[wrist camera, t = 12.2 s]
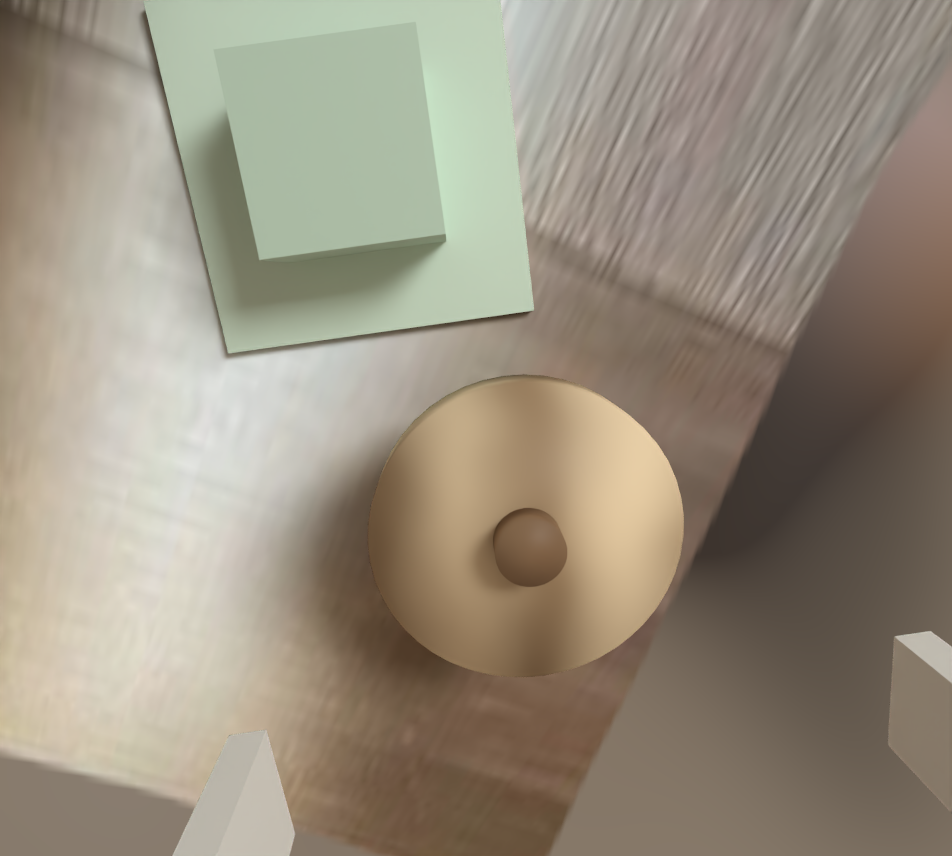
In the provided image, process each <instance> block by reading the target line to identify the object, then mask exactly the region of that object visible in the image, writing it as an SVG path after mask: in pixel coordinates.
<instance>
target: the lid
mask: <svg viewBox="0 0 952 856" xmlns="http://www.w3.org/2000/svg"><path fill="white" fill-rule="evenodd" d="M683 527H684V516H683V508H682V500H681V495H680V492H679V488H678V484H677V481H676V478H675V476H674V473H673V471H672V469H671V466H670V464H669V462H668V460H667V459H666V457H665V455H664V454H663V452H662V450H661V449H660V447H659V446H658V444H657V443H656V442H655V441H654V440H653V438H652V437H651V436H650V435H649V434H648V432H647V431H646V430H645V429H644V428H643V427H642V426H641V425H640V424H638V423H637V422H636V421H635V420H634V419H633V418H632V417H631V416H629V415H628V414H627V413H625V412H624V411H623V410H621V409H620V408H619V407H617V406H616V405H615V404H613V403H612V402H610V401H609V400H607V399H606V398H604V397H603V396H601V395H600V394H598V393H596V392H594V391H592V390H590V389H588V388H586V387H584V386H582V385H579V384H576V383H572V382H569V381H566V380H563V379H558V378H553V377H548V376H541V375H511V376H501V377H496V378H492V379H487V380H482V381H480V382H477V383H474V384H471V385H468V386H465V387H463V388H461V389H459V390H457V391H455V392H453V393H451V394H449V395H447V396H445V397H444V398H442V399H441V400H439V401H438V402H436V403H435V404H433V405H432V406H430V407H429V408H428V409H427V410H426V411H424V412H423V413H422V414H421V415H420V416H419V417H418V418H417V419H415V420H414V422H413V423H412V424H411V425H410V426H409V427H408V429H407V430H406V431H405V432H404V433H403V434H402V436H401V437H400V439H399V440H398V442H397V443H396V445H395V446H394V448H393V449H392V451H391V453H390V455H389V457H388V459H387V462H386V464H385V466H384V468H383V471H382V473H381V476H380V479H379V482H378V484H377V487H376V491H375V494H374V497H373V500H372V503H371V509H370V515H369V521H368V550H369V558H370V564H371V568H372V571H373V575H374V579H375V582H376V584H377V586H378V589H379V591H380V593H381V596H382V598H383V600H384V601H385V603H386V605H387V606H388V608H389V610H390V611H391V613H392V615H393V616H394V617H395V618H396V619H397V621H398V622H399V623H400V624H401V626H402V627H403V628H404V629H405V630H406V631H407V632H408V633H409V634H410V635H411V636H412V637H413V638H414V639H415V640H416V641H418V642H419V643H420V644H422V645H423V646H424V647H426V648H427V649H428V650H430V651H431V652H433V653H434V654H436V655H438V656H440V657H442V658H443V659H445V660H447V661H449V662H451V663H453V664H456V665H458V666H461V667H464V668H466V669H469V670H473V671H477V672H480V673H484V674H489V675H496V676H503V677H533V676H544V675H549V674H554V673H559V672H564V671H567V670H570V669H573V668H576V667H579V666H582V665H584V664H586V663H589V662H591V661H593V660H595V659H597V658H599V657H601V656H603V655H604V654H606V653H608V652H609V651H611V650H613V649H614V648H616V647H617V646H619V645H620V644H621V643H623V642H624V641H625V640H626V639H628V638H629V637H630V636H632V635H633V634H634V633H635V632H636V631H637V630H638V629H639V628H640V627H641V626H642V625H643V624H644V623H645V622H646V620H647V619H648V618H649V617H650V615H651V614H652V613H653V612H654V610H655V609H656V608H657V607H658V605H659V603H660V602H661V600H662V598H663V597H664V595H665V593H666V592H667V590H668V588H669V585H670V583H671V581H672V579H673V577H674V574H675V571H676V568H677V565H678V561H679V558H680V554H681V548H682V542H683Z"/></svg>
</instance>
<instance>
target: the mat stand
mask: <svg viewBox="0 0 952 856" xmlns="http://www.w3.org/2000/svg"><path fill="white" fill-rule="evenodd" d="M143 2H144V6H145V10H146V14H147V18H148V23H149V27H150V31H151V35H152V39H153V43H154V47H155V52H156V56H157V60H158V64H159V68H160V72H161V77H162V81H163V85H164V89H165V93H166V97H167V101H168V106H169V110H170V114H171V118H172V122H173V126H174V131H175V135H176V139H177V143H178V147H179V151H180V155H181V160H182V164H183V168H184V172H185V176H186V180H187V184H188V189H189V193H190V197H191V201H192V205H193V209H194V214H195V218H196V222H197V226H198V230H199V234H200V238H201V243H202V247H203V251H204V255H205V259H206V263H207V267H208V272H209V276H210V280H211V284H212V288H213V292H214V297H215V301H216V305H217V309H218V313H219V317H220V321H221V326H222V330H223V334H224V338H225V342H226V346H227V351H228V353H235V352H242V351H250V350H257V349H264V348H271V347H278V346H285V345H292V344H299V343H306V342H314V341H321V340H328V339H335V338H342V337H349V336H356V335H363V334H370V333H378V332H385V331H392V330H399V329H406V328H413V327H420V326H427V325H434V324H442V323H449V322H456V321H463V320H470V319H477V318H484V317H491V316H498V315H506V314H513V313H520V312H527V311H534V305H533V296H532V287H531V278H530V269H529V260H528V250H527V241H526V232H525V223H524V214H523V204H522V195H521V186H520V177H519V168H518V159H517V149H516V140H515V131H514V122H513V113H512V104H511V94H510V85H509V76H508V67H507V58H506V49H505V39H504V30H503V21H502V12H501V3H500V0H148V1H143Z"/></svg>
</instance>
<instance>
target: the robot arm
mask: <svg viewBox="0 0 952 856" xmlns="http://www.w3.org/2000/svg"><path fill="white" fill-rule="evenodd" d="M888 746H890V748H891V749H892V750H893V751H894V752H895V753H896V754H897V755H898V756H899V757H900V758H901V759H902V761H903V762H904V763H905V764H906V765H907V766H908V767H909V768H910V769H911V770H912V771H913V772H914V773H915V774H916V775H917V777H918V778H919V779H921V781H922V782H923V783H924V784H925V785H926V786H927V787H928V788H929V789H930V790H931V791H932V793H933V794H934V795H935V796H936V797H937V798H938V799H939V800H940V801H941V802H942V803H943V804H944V805H945V806H946V808H947V809H948V810H949V811H950V812H951V813H952V647H951V646H950V645H948V644H947V643H946V642H944V641H943V640H942V639H940V638H939V637H938V636H936V635H935V634H933V633H932V632H931V631H928V632H922V633H915V634H908V635H902V636H895V637H894V650H893V666H892V683H891V700H890V717H889V733H888ZM294 836H295V832H294V828H293V825H292V821H291V817H290V814H289V810H288V806H287V803H286V799H285V796H284V792H283V788H282V785H281V781H280V777H279V774H278V770H277V767H276V763H275V759H274V756H273V752H272V749H271V745H270V741H269V738H268V734H267V730H261V731H254V732H248V733H241V734H234V735H229V737H228V739H227V741H226V743H225V745H224V747H223V749H222V752H221V754H220V756H219V758H218V760H217V762H216V764H215V766H214V768H213V771H212V773H211V775H210V777H209V779H208V781H207V783H206V785H205V788H204V790H203V792H202V794H201V796H200V798H199V800H198V802H197V804H196V807H195V809H194V811H193V813H192V815H191V817H190V819H189V821H188V824H187V826H186V828H185V830H184V832H183V834H182V836H181V838H180V840H179V843H178V845H177V847H176V849H175V851H174V853H173V855H172V856H289V855H290V851H291V847H292V843H293V840H294Z"/></svg>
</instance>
